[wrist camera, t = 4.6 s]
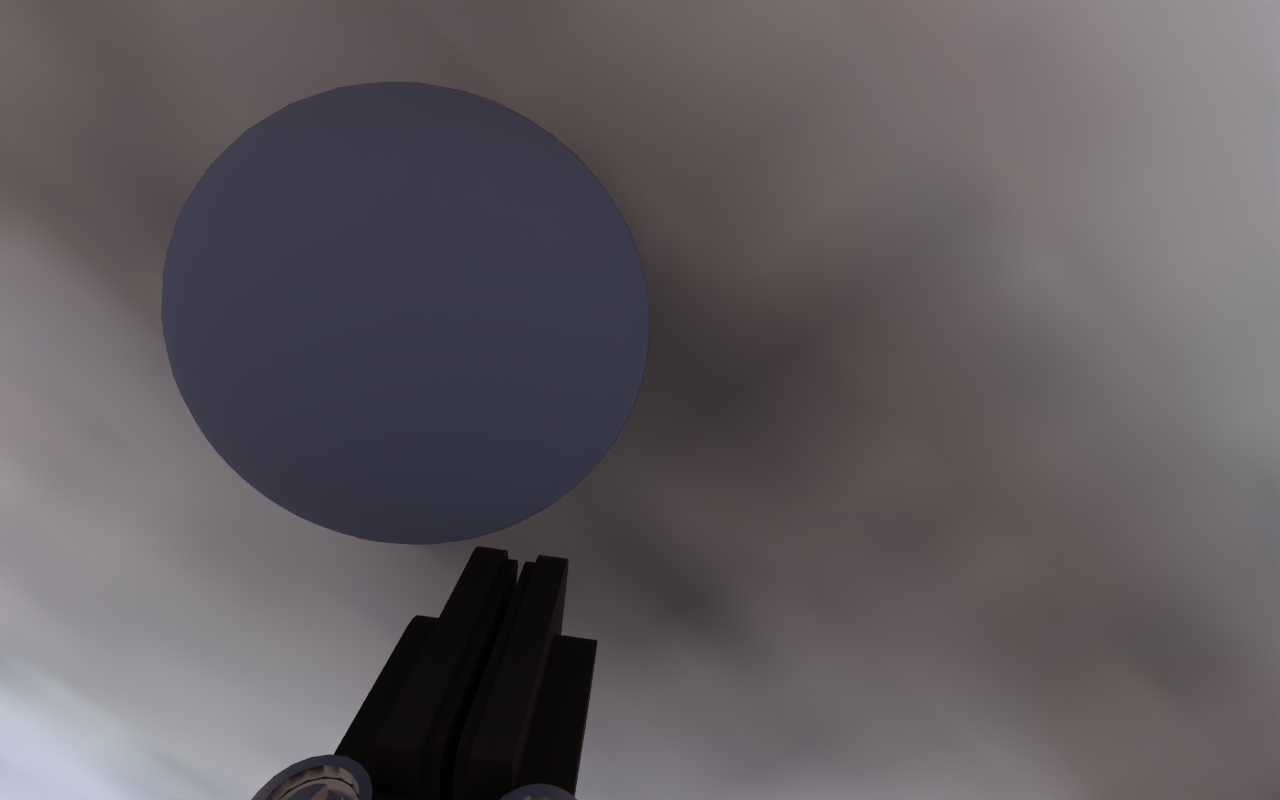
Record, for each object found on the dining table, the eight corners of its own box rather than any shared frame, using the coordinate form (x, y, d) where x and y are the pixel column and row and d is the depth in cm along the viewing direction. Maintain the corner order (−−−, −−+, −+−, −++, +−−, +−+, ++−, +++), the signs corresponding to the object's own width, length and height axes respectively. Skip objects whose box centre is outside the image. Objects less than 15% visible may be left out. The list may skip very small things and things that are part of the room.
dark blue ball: (605, 683, 6) (686, 400, 11) (507, 116, 3) (676, 47, 8) (188, 608, 8) (415, 382, 12) (-161, 144, 5) (316, 70, 9)
